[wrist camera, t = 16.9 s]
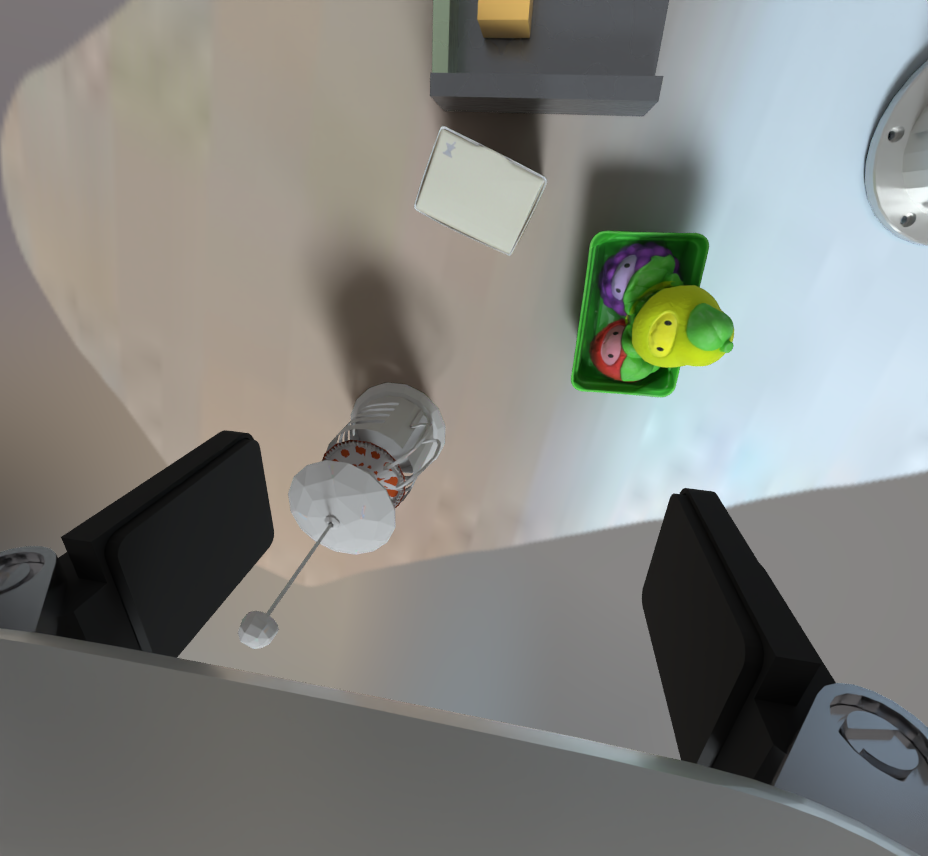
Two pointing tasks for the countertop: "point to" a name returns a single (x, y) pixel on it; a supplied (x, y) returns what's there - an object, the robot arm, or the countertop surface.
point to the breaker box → (551, 59)
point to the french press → (360, 482)
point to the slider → (505, 18)
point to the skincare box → (478, 191)
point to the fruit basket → (646, 314)
